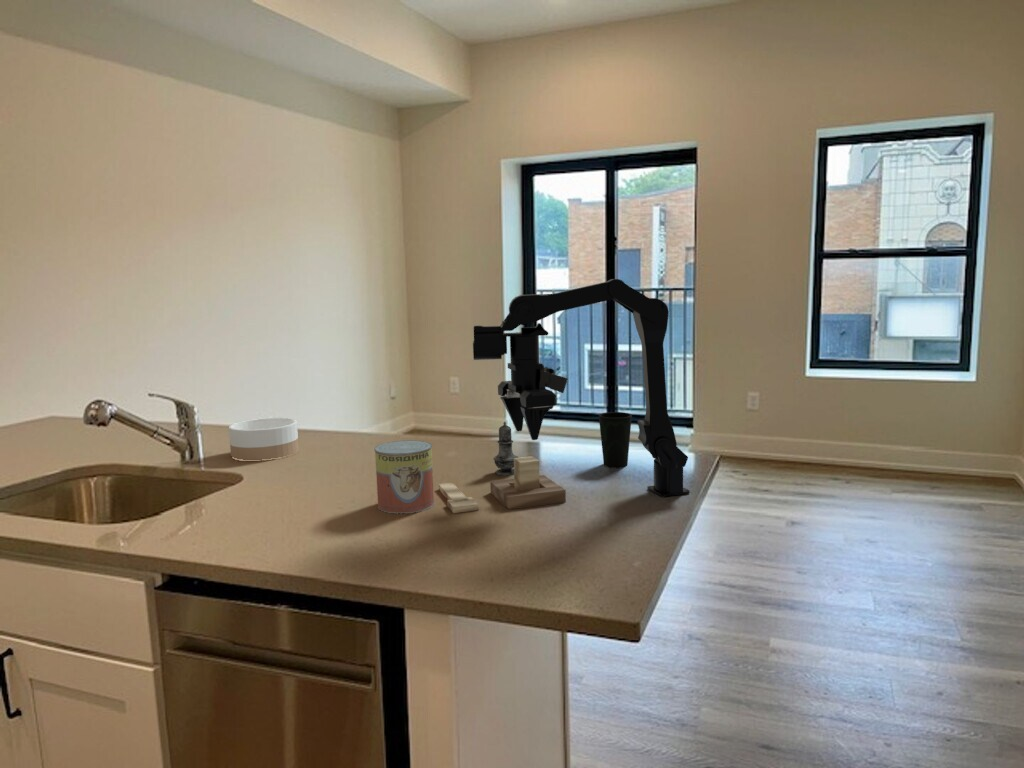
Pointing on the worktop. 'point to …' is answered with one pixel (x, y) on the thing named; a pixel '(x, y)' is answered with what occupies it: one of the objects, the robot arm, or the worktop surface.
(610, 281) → the robot arm
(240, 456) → the bowl
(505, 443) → the salt shaker
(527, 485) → the wooden pin
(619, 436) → the cup
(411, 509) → the canned food
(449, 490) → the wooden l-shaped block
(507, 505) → the socket block
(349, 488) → the worktop surface
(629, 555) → the worktop surface
